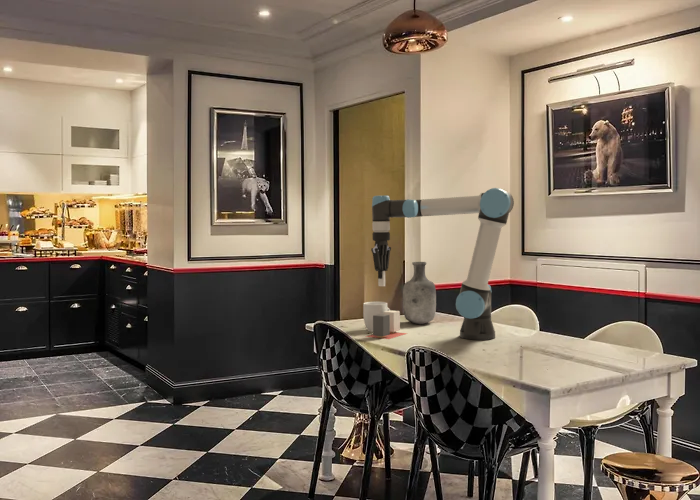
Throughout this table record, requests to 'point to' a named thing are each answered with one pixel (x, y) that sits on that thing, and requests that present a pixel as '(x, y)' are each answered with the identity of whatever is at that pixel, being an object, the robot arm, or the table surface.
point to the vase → (419, 297)
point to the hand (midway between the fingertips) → (381, 286)
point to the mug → (373, 312)
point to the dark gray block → (381, 325)
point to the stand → (392, 325)
